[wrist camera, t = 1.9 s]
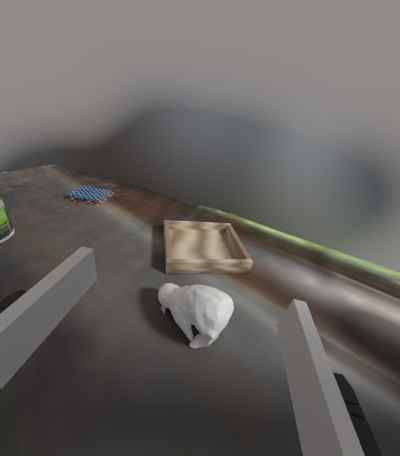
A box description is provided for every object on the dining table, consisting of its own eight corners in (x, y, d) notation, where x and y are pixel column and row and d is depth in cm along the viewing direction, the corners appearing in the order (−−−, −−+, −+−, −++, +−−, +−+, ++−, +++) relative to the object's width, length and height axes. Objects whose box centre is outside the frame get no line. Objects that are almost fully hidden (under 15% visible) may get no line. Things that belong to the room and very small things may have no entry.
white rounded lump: (218, 324, 21) (144, 274, 27) (210, 366, 25) (147, 316, 31) (242, 290, 26) (175, 254, 32) (232, 331, 30) (174, 292, 36)
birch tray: (227, 232, 55) (229, 223, 54) (249, 272, 42) (253, 262, 41) (163, 230, 51) (164, 220, 50) (165, 274, 38) (166, 262, 36)
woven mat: (63, 201, 56) (62, 194, 55) (84, 189, 65) (83, 183, 64) (99, 207, 57) (98, 201, 56) (115, 194, 66) (114, 189, 65)
